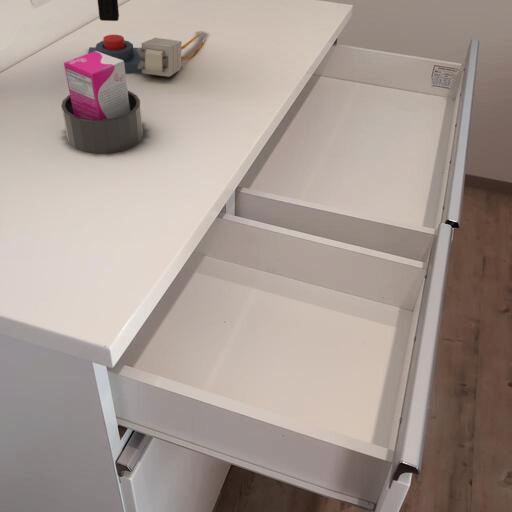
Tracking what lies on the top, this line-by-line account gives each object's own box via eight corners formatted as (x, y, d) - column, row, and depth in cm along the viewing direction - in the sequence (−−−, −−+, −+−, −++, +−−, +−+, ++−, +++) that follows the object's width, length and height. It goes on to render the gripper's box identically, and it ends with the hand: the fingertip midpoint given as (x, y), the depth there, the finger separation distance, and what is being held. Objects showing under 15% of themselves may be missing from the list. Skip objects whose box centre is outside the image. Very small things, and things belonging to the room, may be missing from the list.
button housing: (86, 73, 97) (83, 54, 95) (90, 56, 103) (88, 37, 101) (143, 73, 98) (142, 54, 96) (144, 56, 104) (143, 38, 102)
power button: (103, 51, 97) (102, 41, 96) (105, 44, 100) (104, 34, 99) (124, 51, 98) (123, 41, 96) (125, 44, 100) (124, 34, 99)
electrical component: (179, 52, 115) (180, 26, 113) (207, 55, 115) (208, 30, 112) (137, 73, 95) (136, 43, 92) (170, 78, 94) (170, 48, 91)
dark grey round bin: (64, 160, 75) (56, 121, 71) (73, 124, 83) (66, 86, 79) (142, 159, 77) (139, 120, 73) (143, 123, 85) (140, 86, 81)
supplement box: (106, 124, 83) (96, 48, 75) (134, 137, 80) (126, 60, 73) (76, 138, 79) (62, 60, 72) (104, 152, 77) (93, 73, 69)
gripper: (119, -96, 78) (129, 34, 90) (124, -112, 89) (132, 6, 101) (65, -99, 77) (83, 33, 89) (76, -115, 88) (91, 5, 100)
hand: (109, 18), depth 95 cm, fingers closed
